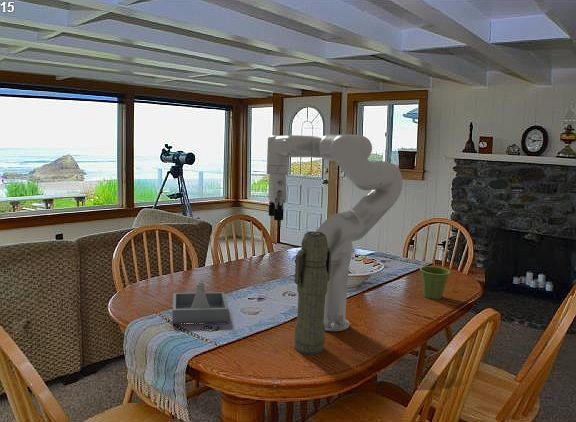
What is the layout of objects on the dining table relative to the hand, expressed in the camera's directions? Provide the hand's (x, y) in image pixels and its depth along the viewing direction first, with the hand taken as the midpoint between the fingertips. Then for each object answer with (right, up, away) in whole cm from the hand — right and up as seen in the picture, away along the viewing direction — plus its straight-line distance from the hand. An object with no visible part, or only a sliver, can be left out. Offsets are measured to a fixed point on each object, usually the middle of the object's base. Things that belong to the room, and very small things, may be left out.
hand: (275, 217), depth 188 cm
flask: (-26, -32, -9) cm, 42 cm away
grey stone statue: (+11, -39, -32) cm, 51 cm away
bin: (-26, -33, -9) cm, 43 cm away
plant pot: (+63, -33, +24) cm, 75 cm away
